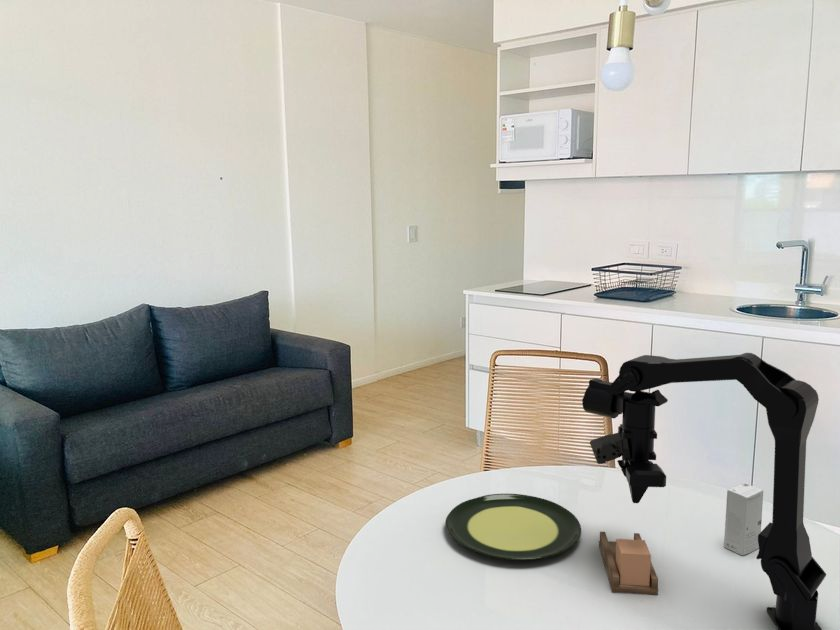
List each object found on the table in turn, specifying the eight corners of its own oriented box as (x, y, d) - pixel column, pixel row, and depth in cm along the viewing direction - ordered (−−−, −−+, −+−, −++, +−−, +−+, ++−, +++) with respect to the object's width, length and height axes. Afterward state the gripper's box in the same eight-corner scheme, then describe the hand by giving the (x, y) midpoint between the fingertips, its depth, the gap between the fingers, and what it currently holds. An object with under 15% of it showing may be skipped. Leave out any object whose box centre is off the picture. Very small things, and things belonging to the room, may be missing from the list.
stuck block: (649, 586, 116) (650, 554, 115) (620, 584, 117) (621, 553, 116) (643, 570, 121) (644, 540, 120) (615, 568, 122) (616, 538, 120)
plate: (451, 572, 124) (451, 560, 123) (441, 504, 151) (441, 494, 151) (598, 568, 125) (598, 555, 124) (562, 501, 152) (562, 491, 152)
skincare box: (743, 556, 127) (748, 498, 125) (721, 546, 131) (726, 489, 129) (761, 547, 130) (765, 490, 128) (739, 537, 134) (743, 482, 132)
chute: (657, 594, 115) (658, 579, 115) (612, 592, 116) (612, 576, 116) (639, 547, 131) (639, 533, 131) (598, 545, 132) (599, 531, 132)
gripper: (586, 407, 132) (585, 480, 135) (602, 440, 114) (599, 524, 117) (644, 408, 131) (641, 482, 134) (668, 442, 113) (664, 526, 115)
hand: (635, 502), depth 125 cm, fingers closed
